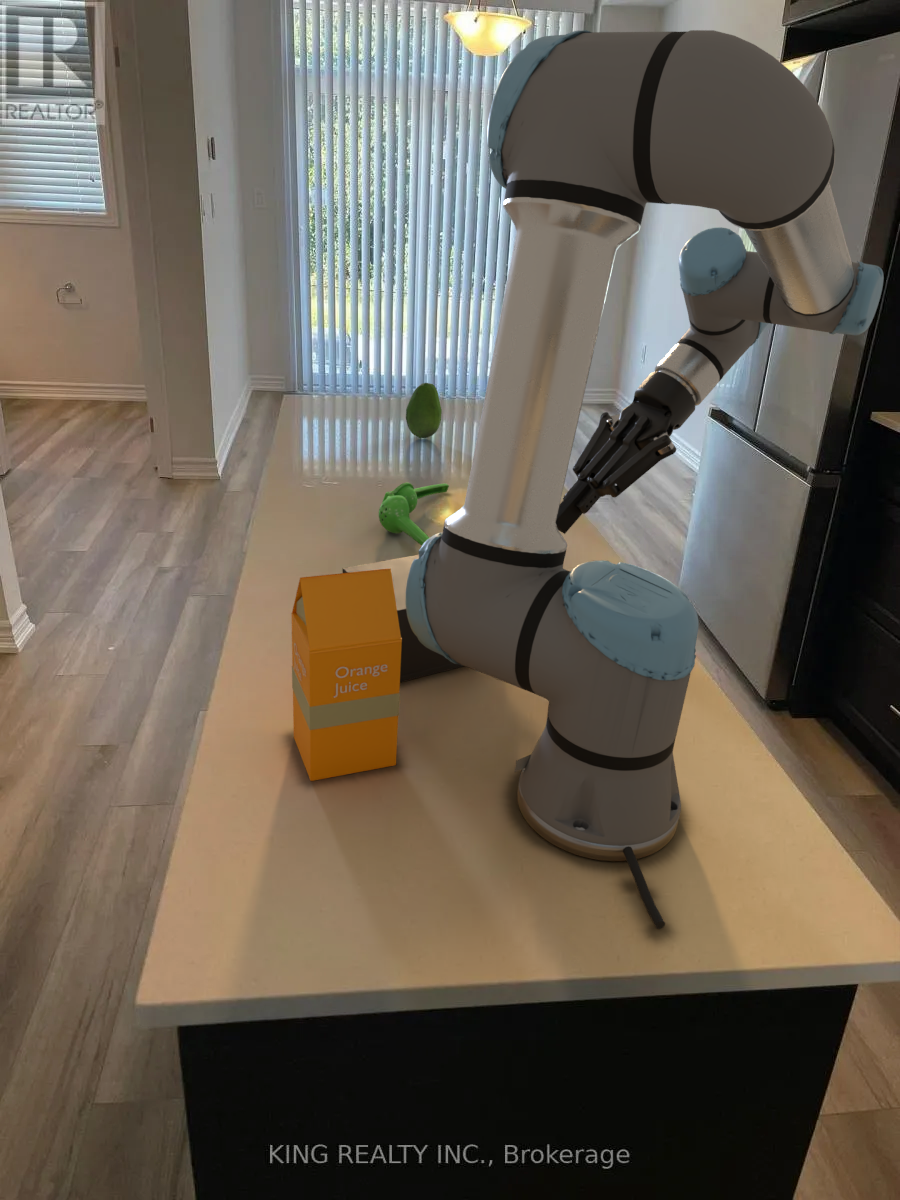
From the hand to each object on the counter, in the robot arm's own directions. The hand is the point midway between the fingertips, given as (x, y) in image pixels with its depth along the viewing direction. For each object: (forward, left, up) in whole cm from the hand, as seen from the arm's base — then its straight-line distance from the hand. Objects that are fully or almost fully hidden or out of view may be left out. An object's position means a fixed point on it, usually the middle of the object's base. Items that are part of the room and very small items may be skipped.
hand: (556, 525), depth 111 cm
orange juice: (-21, +34, -14) cm, 42 cm away
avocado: (+85, -12, -7) cm, 86 cm away
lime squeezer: (+36, +7, -14) cm, 39 cm away
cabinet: (-3, +20, -13) cm, 24 cm away
